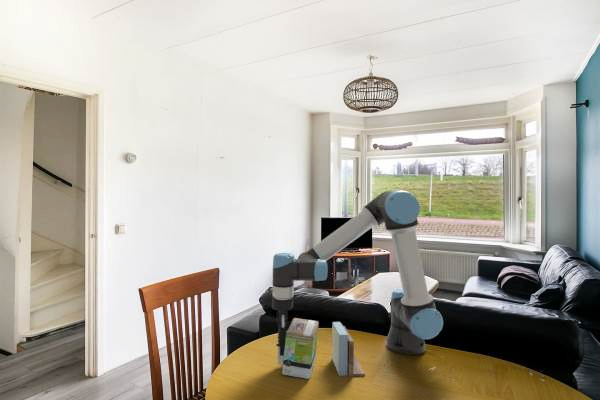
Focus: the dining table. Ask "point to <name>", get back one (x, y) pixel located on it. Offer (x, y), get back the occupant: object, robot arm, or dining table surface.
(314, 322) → the tea box
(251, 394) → the dining table surface
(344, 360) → the book
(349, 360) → the bookend
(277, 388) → the dining table surface
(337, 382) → the dining table surface
